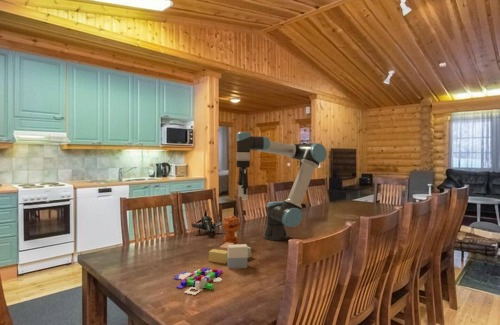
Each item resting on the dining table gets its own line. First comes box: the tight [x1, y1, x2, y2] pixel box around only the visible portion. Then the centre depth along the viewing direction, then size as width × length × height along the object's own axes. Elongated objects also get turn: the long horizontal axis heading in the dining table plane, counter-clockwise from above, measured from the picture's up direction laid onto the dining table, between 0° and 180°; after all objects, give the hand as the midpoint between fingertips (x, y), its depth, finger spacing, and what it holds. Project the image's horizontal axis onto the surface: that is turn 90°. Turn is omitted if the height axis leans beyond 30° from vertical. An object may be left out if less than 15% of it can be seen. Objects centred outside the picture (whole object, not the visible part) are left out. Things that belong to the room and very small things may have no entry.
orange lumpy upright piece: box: [221, 214, 241, 245], centre depth 182 cm, size 11×11×18 cm
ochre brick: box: [208, 248, 228, 264], centre depth 156 cm, size 9×4×5 cm, turn 70°
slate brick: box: [227, 258, 248, 269], centre depth 149 cm, size 9×4×5 cm, turn 98°
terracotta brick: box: [218, 242, 234, 251], centre depth 166 cm, size 9×4×5 cm, turn 160°
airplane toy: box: [191, 209, 223, 237], centre depth 206 cm, size 20×19×15 cm
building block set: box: [173, 267, 223, 296], centre depth 132 cm, size 25×20×4 cm
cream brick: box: [228, 243, 249, 259], centre depth 149 cm, size 9×4×5 cm, turn 100°
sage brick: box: [247, 246, 252, 259], centre depth 161 cm, size 9×4×5 cm, turn 140°
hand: (242, 198), depth 173 cm, fingers open, 13 cm apart
